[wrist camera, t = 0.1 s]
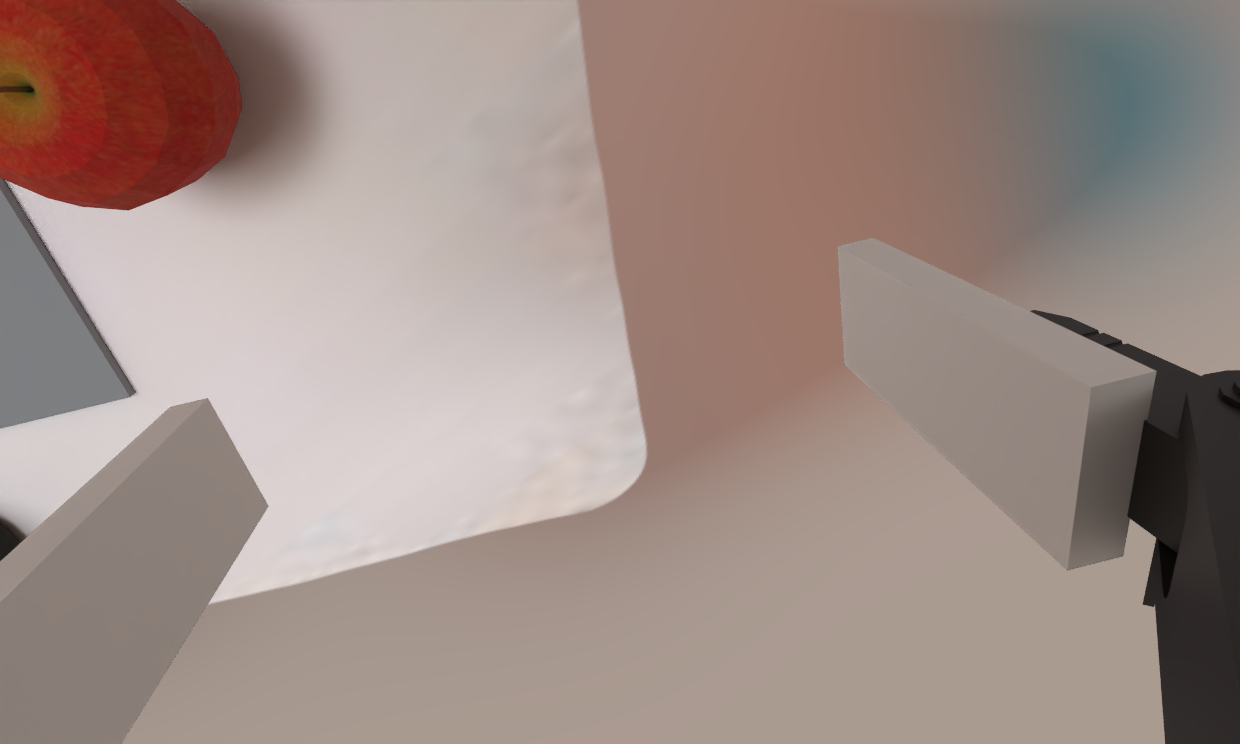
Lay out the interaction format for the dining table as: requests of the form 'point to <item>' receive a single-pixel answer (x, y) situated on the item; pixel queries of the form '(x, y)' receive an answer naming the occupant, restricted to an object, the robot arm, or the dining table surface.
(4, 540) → the wine bottle
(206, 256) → the dining table surface
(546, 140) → the dining table surface
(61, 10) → the apple
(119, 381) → the mat
